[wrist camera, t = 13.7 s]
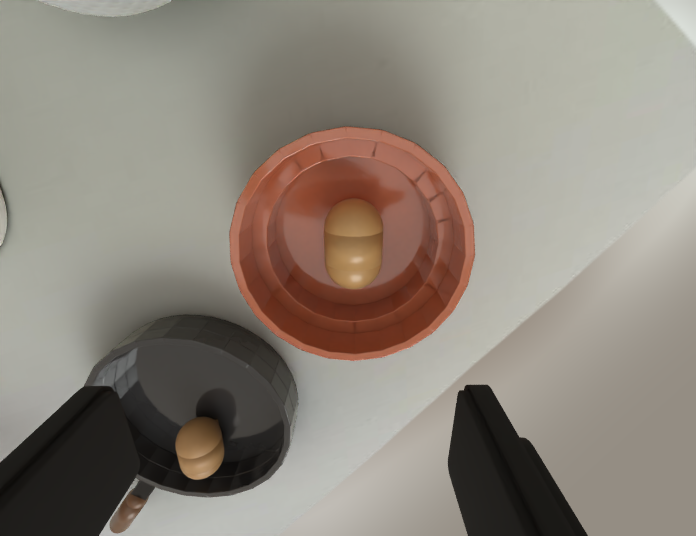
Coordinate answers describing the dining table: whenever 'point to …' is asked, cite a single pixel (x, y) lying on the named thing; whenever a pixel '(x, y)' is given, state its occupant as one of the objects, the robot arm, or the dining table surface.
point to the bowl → (308, 243)
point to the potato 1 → (200, 447)
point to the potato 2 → (353, 243)
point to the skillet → (202, 400)
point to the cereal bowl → (107, 6)
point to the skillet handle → (130, 507)
